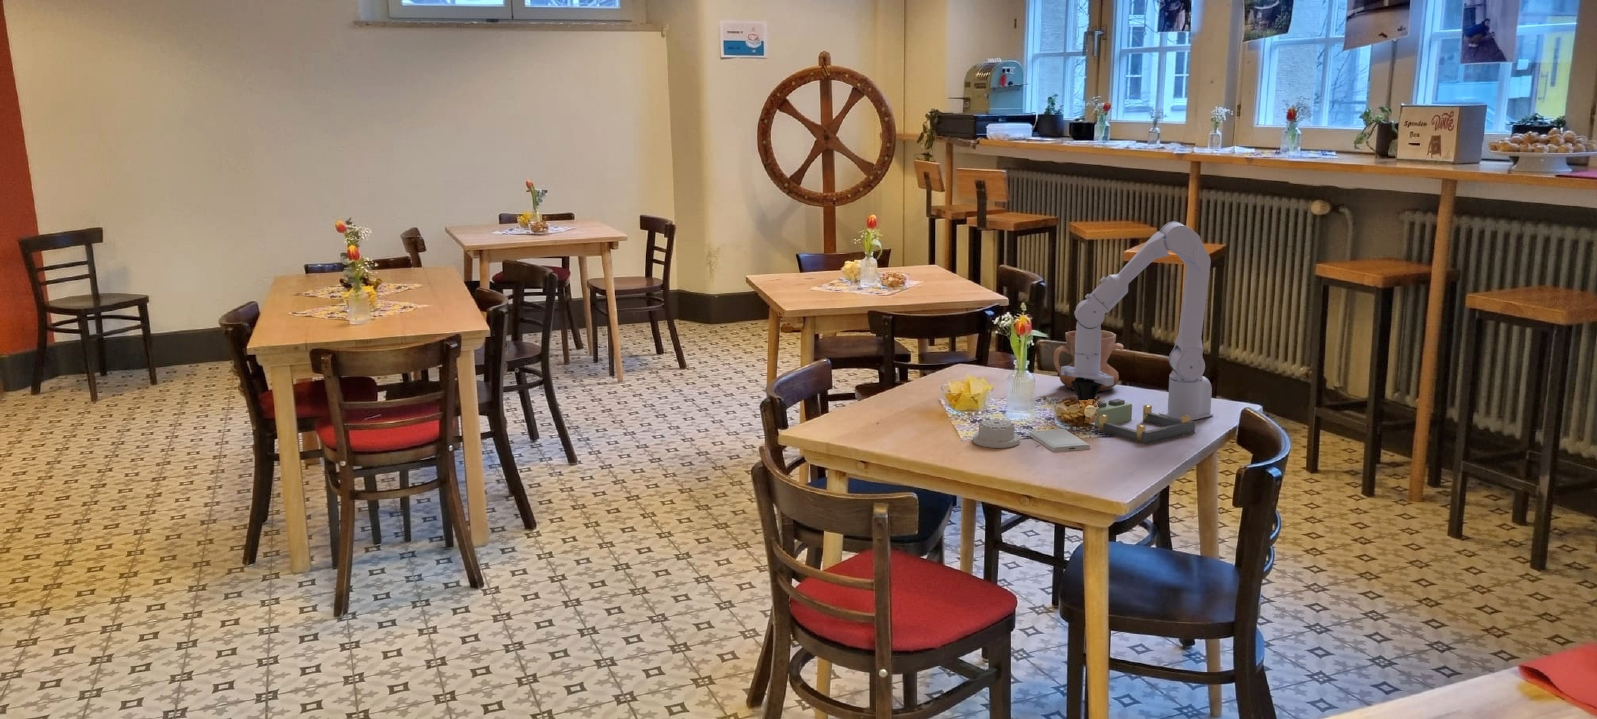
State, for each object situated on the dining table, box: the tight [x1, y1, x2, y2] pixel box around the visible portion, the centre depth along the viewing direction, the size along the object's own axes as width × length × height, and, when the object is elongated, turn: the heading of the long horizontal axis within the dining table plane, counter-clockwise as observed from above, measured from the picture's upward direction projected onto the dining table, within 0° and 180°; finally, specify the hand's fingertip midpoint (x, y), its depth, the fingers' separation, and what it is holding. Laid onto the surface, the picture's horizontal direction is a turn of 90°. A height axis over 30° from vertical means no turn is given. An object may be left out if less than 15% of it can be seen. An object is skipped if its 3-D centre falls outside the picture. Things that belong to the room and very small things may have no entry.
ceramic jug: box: [1052, 329, 1124, 392], centre depth 291 cm, size 18×14×14 cm
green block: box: [1094, 398, 1133, 428], centre depth 261 cm, size 10×5×5 cm, turn 123°
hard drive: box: [1029, 428, 1091, 453], centre depth 246 cm, size 2×8×12 cm
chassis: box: [1098, 404, 1196, 446], centre depth 252 cm, size 16×14×4 cm
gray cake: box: [972, 418, 1021, 449], centre depth 247 cm, size 10×4×10 cm
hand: (1085, 410), depth 267 cm, fingers closed
